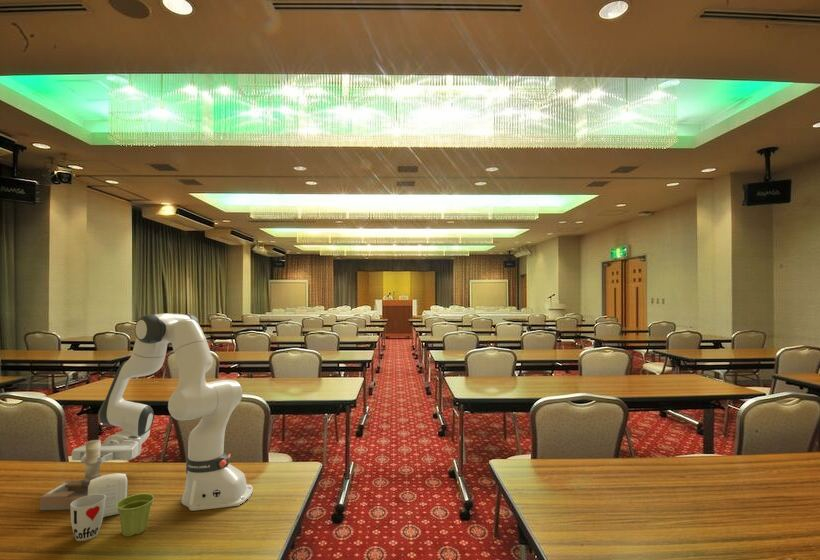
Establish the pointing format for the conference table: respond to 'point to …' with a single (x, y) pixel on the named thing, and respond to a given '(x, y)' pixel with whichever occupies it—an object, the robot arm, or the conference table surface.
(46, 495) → the keyhole dock
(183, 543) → the conference table surface
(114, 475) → the photo printer
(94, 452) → the beige tall cylinder
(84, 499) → the cup
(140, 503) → the plant pot
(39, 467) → the conference table surface
